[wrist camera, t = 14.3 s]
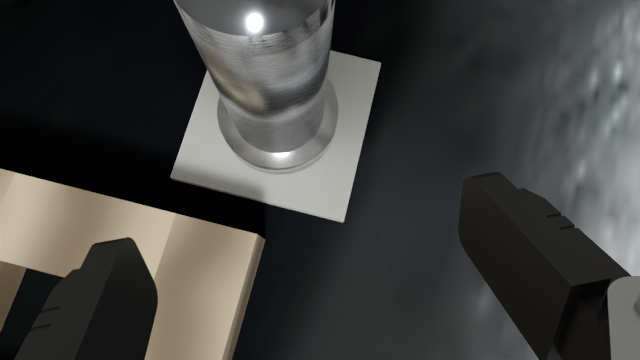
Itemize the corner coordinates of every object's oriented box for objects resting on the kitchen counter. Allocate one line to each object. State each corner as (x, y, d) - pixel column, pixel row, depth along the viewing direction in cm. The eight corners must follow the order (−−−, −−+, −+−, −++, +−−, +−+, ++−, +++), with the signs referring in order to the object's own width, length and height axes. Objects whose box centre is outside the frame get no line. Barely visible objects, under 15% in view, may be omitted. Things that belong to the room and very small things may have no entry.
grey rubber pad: (379, 67, 25) (381, 62, 24) (342, 222, 22) (343, 221, 22) (225, 30, 25) (223, 24, 24) (173, 179, 23) (169, 177, 22)
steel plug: (348, 84, 24) (388, -104, 12) (320, 187, 22) (334, 89, 10) (242, 56, 24) (180, -154, 12) (207, 157, 22) (96, 28, 11)
